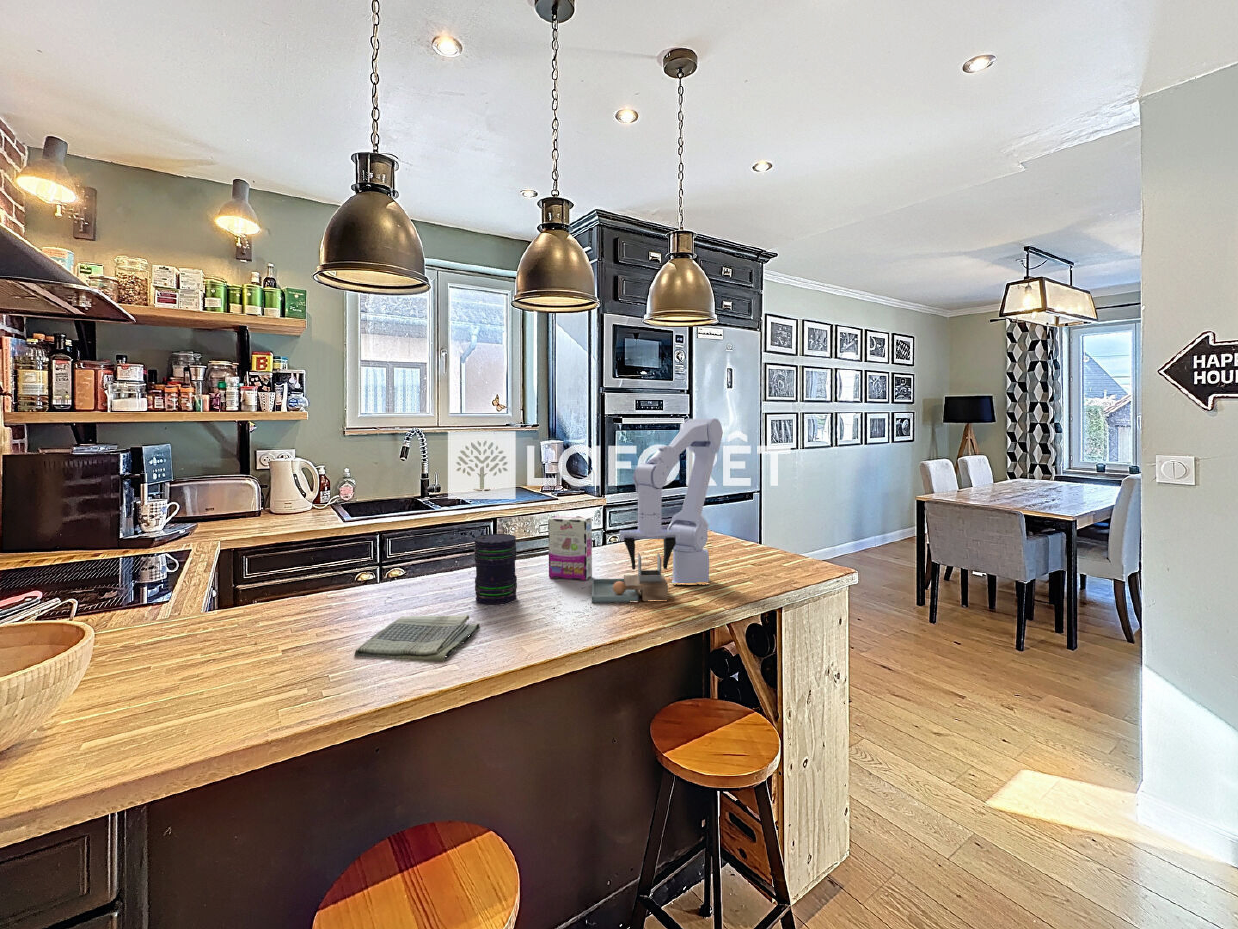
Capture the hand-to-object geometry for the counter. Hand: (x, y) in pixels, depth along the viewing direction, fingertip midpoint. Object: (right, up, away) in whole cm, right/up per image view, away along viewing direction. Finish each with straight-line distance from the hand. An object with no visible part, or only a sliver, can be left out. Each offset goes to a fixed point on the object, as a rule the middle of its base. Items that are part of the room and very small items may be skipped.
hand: (649, 568), depth 142 cm
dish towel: (-46, -10, -28) cm, 55 cm away
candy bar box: (-21, -6, +18) cm, 28 cm away
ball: (-7, -5, 0) cm, 9 cm away
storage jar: (-37, -7, -2) cm, 38 cm away
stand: (0, -7, +1) cm, 7 cm away
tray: (-9, -7, +3) cm, 11 cm away
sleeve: (0, -3, 0) cm, 3 cm away
